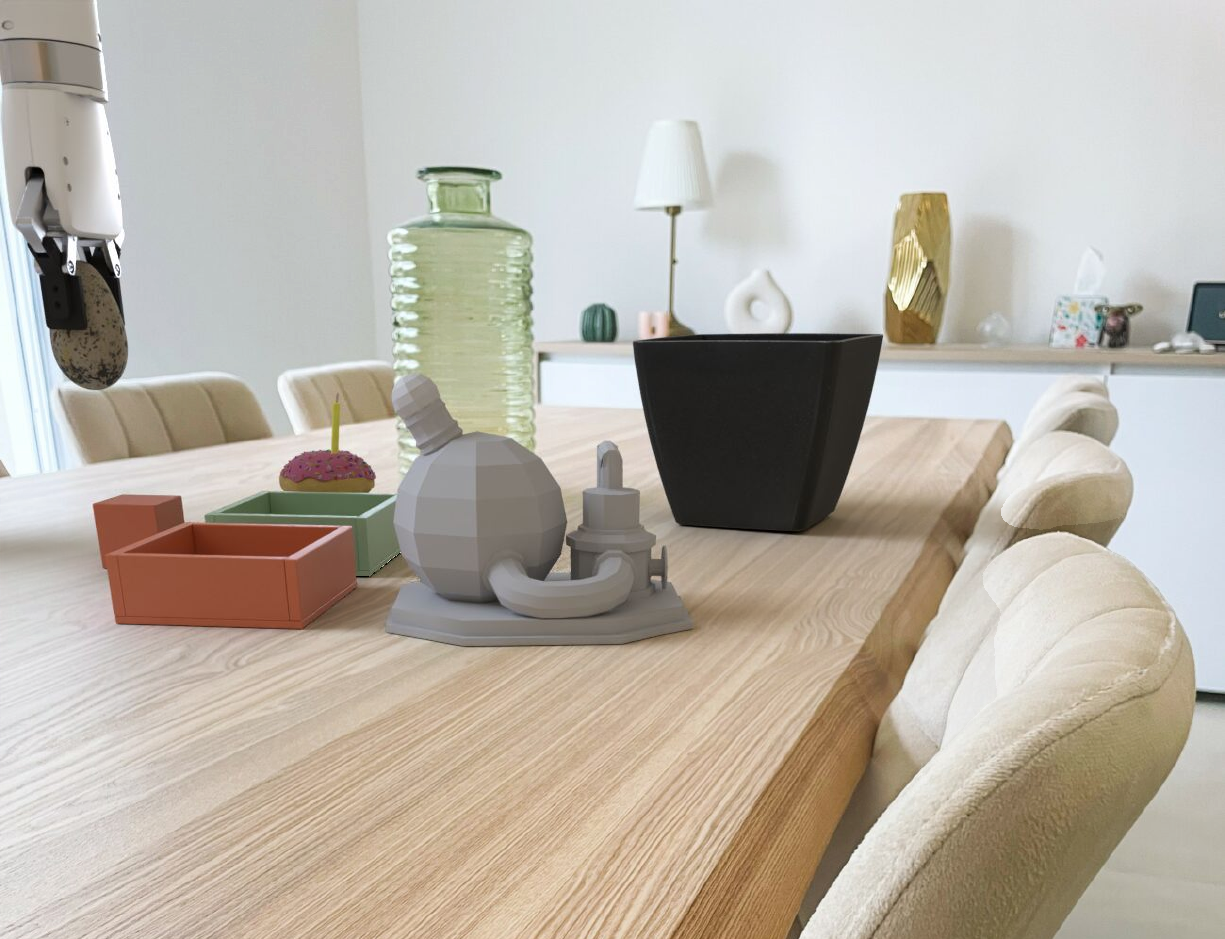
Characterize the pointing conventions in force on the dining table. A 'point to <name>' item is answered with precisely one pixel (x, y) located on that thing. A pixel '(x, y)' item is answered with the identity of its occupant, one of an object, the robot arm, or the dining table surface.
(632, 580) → the grey distillation still model
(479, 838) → the dining table surface
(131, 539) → the terracotta block
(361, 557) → the sage bin
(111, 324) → the decorative egg
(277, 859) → the dining table surface
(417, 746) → the dining table surface
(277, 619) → the terracotta bin
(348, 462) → the donut with candle
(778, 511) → the flower pot
